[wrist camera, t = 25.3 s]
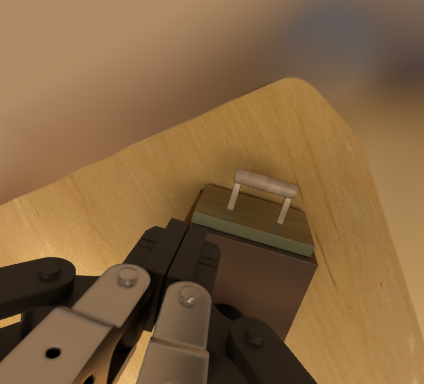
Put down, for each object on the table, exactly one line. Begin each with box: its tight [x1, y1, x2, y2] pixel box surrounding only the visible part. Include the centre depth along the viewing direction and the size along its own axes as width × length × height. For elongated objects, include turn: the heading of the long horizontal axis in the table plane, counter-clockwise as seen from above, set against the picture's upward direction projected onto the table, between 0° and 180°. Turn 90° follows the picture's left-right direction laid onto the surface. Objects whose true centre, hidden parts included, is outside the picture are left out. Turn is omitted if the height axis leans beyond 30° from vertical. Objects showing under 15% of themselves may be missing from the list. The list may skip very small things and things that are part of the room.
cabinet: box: [184, 189, 318, 342], centre depth 37 cm, size 14×13×10 cm
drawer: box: [191, 168, 315, 257], centre depth 35 cm, size 17×11×8 cm
